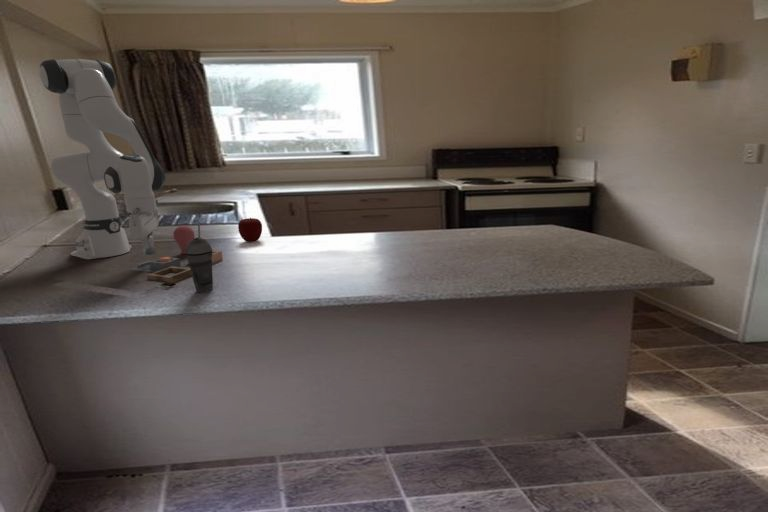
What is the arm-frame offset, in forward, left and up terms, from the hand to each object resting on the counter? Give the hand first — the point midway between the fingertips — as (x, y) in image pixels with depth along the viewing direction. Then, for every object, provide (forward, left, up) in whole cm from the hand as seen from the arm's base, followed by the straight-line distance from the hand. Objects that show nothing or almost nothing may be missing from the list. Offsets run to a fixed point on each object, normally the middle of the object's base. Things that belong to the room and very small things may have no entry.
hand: (148, 246), depth 154 cm
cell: (0, 0, -3) cm, 3 cm away
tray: (+17, -7, -8) cm, 20 cm away
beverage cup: (+34, -11, -9) cm, 37 cm away
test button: (+8, -1, -6) cm, 10 cm away
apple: (+7, +43, -9) cm, 44 cm away
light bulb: (-1, +16, -9) cm, 18 cm away
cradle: (+4, -1, -8) cm, 9 cm away
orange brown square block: (+15, +9, -8) cm, 19 cm away
